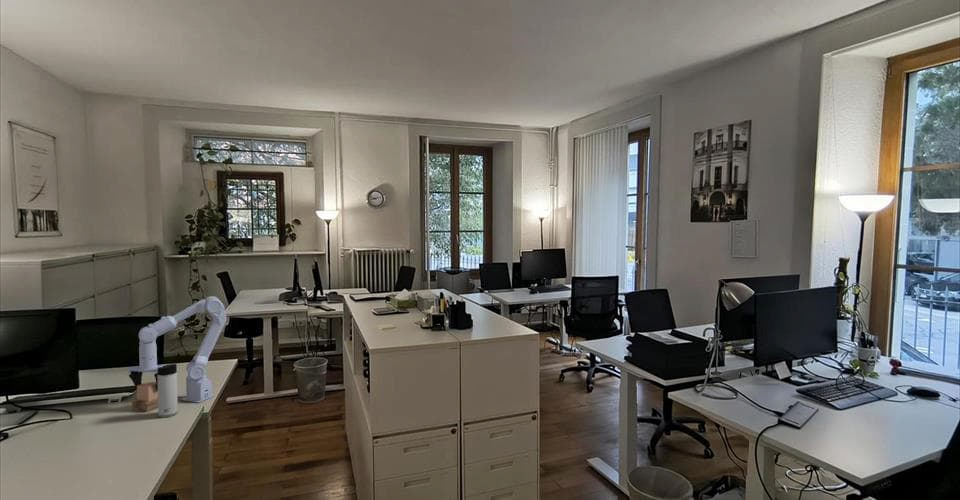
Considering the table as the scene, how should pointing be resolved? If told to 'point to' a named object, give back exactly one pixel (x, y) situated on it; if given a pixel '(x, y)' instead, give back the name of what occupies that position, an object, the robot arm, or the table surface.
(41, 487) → the table surface
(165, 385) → the travel mug
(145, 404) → the walnut block
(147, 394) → the terracotta block
